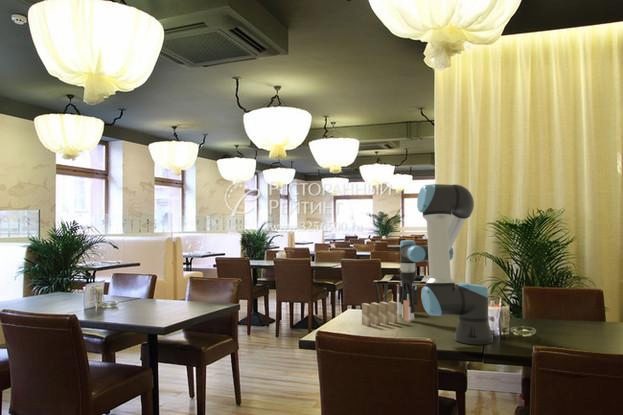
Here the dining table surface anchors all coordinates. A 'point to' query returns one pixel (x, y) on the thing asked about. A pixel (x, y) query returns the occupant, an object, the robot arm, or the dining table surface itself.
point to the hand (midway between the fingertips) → (408, 318)
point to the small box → (400, 306)
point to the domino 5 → (406, 310)
